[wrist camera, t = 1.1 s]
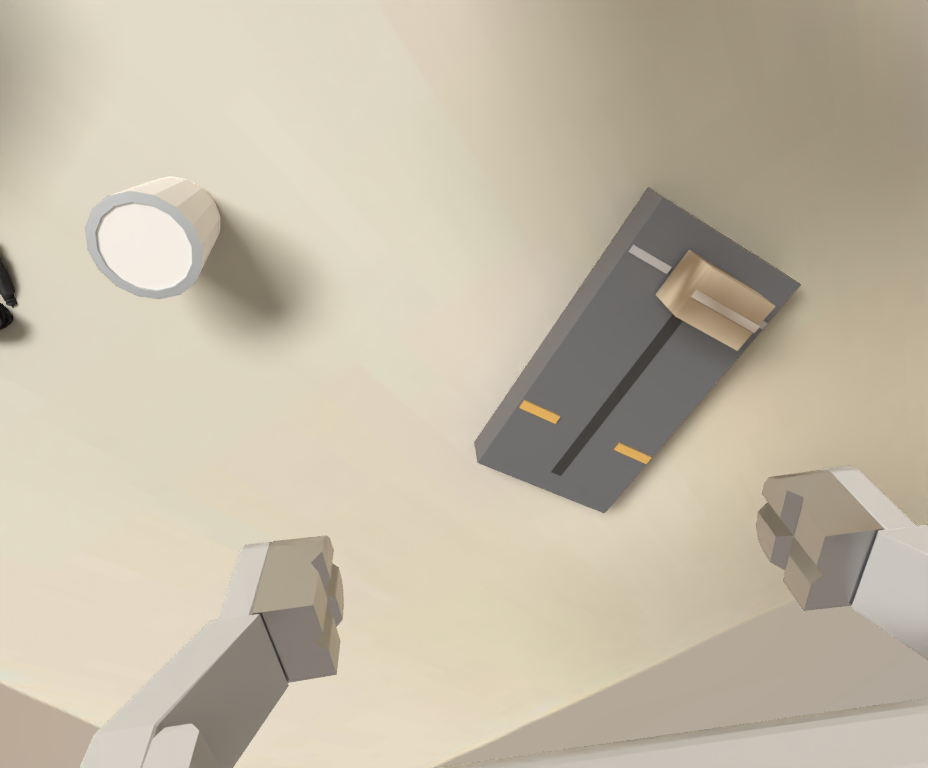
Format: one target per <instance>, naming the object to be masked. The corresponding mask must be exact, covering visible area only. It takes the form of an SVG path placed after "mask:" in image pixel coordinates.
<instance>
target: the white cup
mask: <svg viewBox="0 0 928 768" xmlns="http://www.w3.org/2000/svg"><path fill="white" fill-rule="evenodd" d="M220 231H221V215H220V213H219V211H218V208H217V206H216V203H215V201H214V200H213V199H212V198H211V196H210V195H209V194H208V193H207V192H206V191H205V190H204V189H203V188H202V187H200V186H199V185H197V184H195V183H193V182H192V181H190V180H188V179H184V178H178V177H172V176H169V177H165V178H161V179H156V180H153V181H150V182H147V183H144V184H141V185H138V186H135V187H132V188H130V189H127V190H124V191H121V192H118V193H115V194H112V195H109V196H107V197H106V198H105V199H103V200H102V201H101V202H100V203H99V204H98V205H96V206H95V207H94V208H93V209H92V211H91V213H90V216H89V219H88V221H87V224H86V227H85V232H86V240H87V249H88V251H89V253H90V255H91V257H92V258H93V260H94V262H95V264H96V266H97V267H98V269H99V270H100V271H101V272H102V273H103V274H104V275H105V276H106V277H107V278H108V279H109V280H110V281H112V282H113V283H114V284H115V285H116V286H117V287H119V288H122V289H124V290H126V291H128V292H130V293H132V294H134V295H136V296H140V297H147V298H154V299H163V298H168V297H172V296H176V295H180V294H181V293H183V292H184V291H185V290H187V289H188V288H189V287H191V286H192V285H193V284H195V282H196V280H197V278H198V276H199V274H200V272H201V270H202V268H203V266H204V264H205V262H206V260H207V258H208V256H209V254H210V252H211V250H212V248H213V246H214V244H215V242H216V240H217V238H218V236H219V233H220Z"/></svg>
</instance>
